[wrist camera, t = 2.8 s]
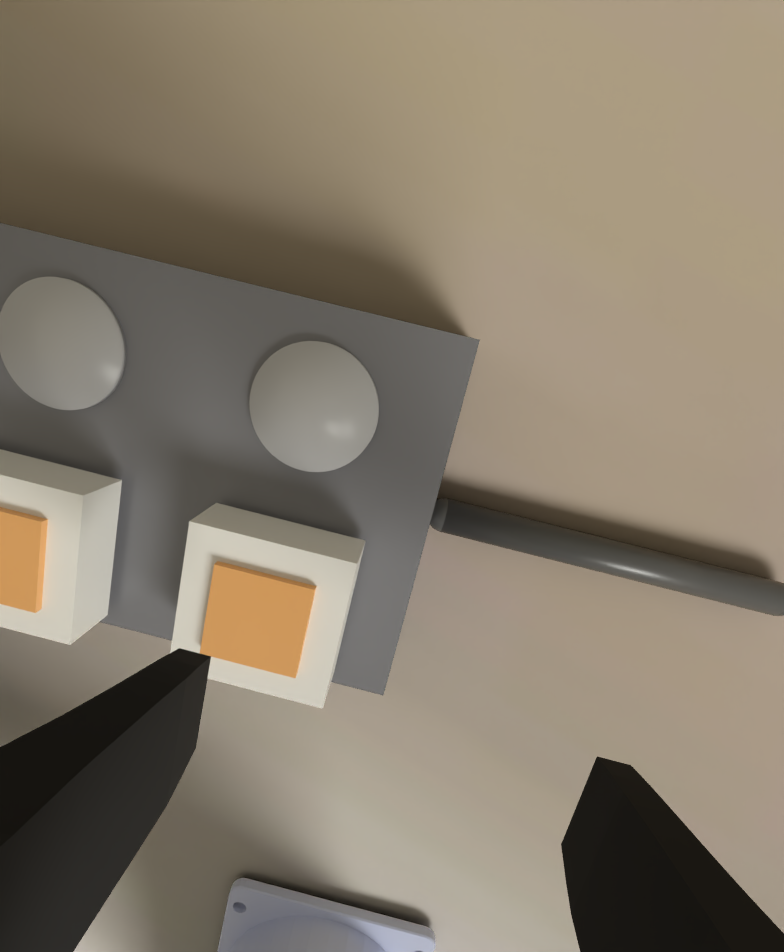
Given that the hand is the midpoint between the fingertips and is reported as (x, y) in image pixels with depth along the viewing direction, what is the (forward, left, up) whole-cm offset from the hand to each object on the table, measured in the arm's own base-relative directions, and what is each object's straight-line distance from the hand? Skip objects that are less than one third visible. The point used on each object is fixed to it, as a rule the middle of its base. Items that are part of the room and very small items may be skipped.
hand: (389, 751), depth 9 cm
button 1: (0, +4, -4) cm, 6 cm away
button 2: (0, +10, -4) cm, 11 cm away
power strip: (+2, +5, -7) cm, 9 cm away
